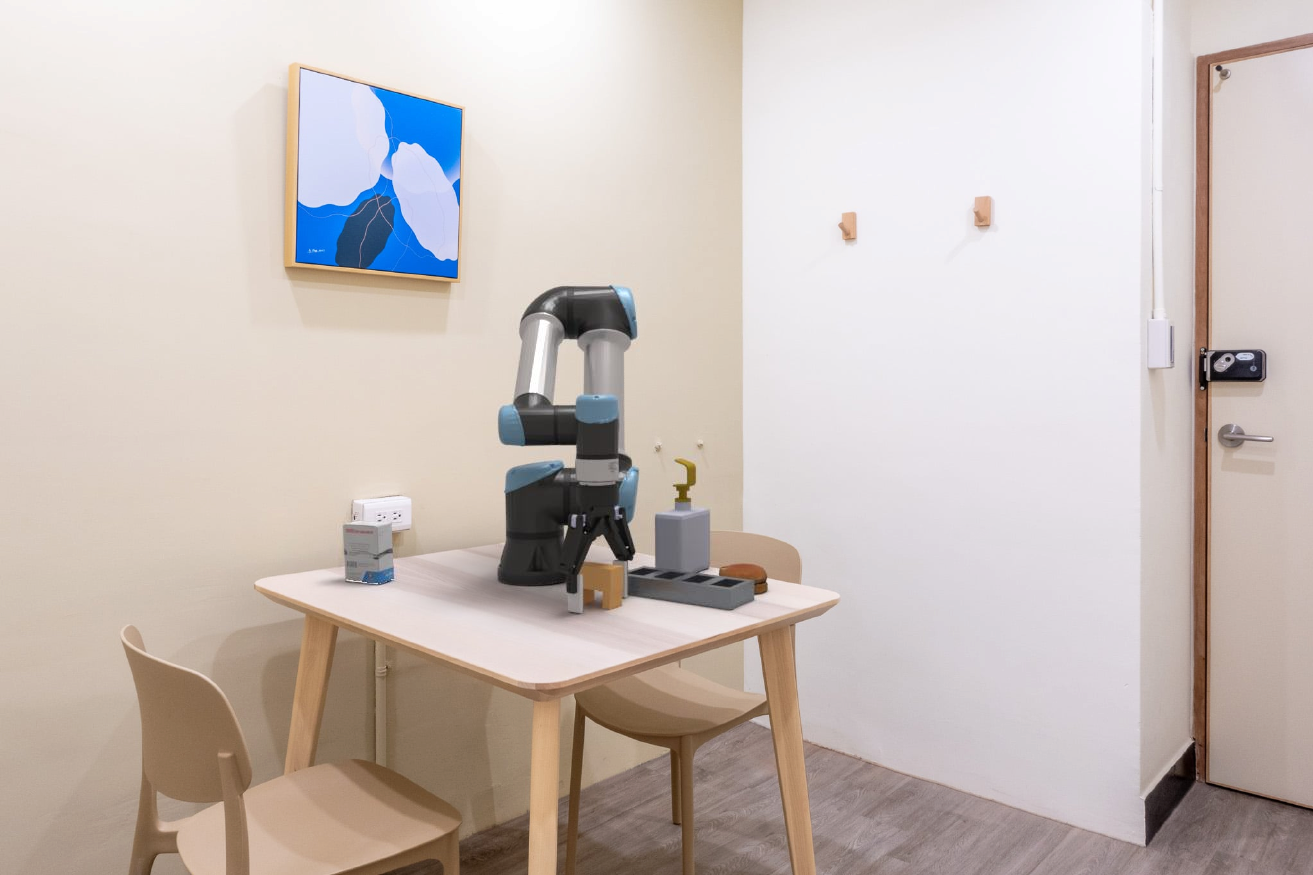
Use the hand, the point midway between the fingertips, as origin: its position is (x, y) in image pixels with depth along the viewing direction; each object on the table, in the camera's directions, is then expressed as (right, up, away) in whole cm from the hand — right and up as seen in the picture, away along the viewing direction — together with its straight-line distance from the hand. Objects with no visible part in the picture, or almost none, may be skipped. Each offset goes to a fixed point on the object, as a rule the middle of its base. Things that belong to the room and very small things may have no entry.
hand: (598, 603), depth 156 cm
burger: (+26, 0, +12) cm, 29 cm away
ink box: (-47, 0, +20) cm, 51 cm away
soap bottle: (+16, +1, +28) cm, 32 cm away
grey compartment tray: (+15, 0, +6) cm, 17 cm away
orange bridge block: (0, 0, 0) cm, 0 cm away
